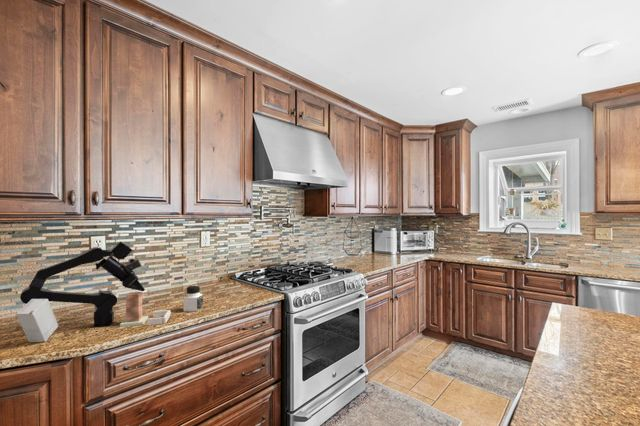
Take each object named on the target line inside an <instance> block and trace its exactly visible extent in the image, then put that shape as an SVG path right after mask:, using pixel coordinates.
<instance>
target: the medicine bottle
mask: <svg viewBox="0 0 640 426" xmlns="http://www.w3.org/2000/svg"><path fill="white" fill-rule="evenodd" d="M200 290H201V289H200V286H199V285H196V284H195V285H193V284H192V285H189V286H187V287H186V296H184V297H183V312H199V311H200V310H201V309H203V308H204V294H203V293H200V292H201V291H200Z"/></svg>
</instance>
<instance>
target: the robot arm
mask: <svg viewBox="0 0 640 426" xmlns="http://www.w3.org/2000/svg"><path fill="white" fill-rule="evenodd" d="M133 251H134V250H133V249H132V248H131V247H130V246H128V245H126V244H125V243H123V242H122V241H119V242H118V243H117V244H116V245H115V246H114V247H113V248H112V249H102V248H100V247H96V246H94V247H91V248H88V249H87V250H85V251H84V252H82V253H80V254H78V255H76V256H75V257H72V258H68V259H66V260H63V261H61V262H57V263H55V264H53V265H52V264H51V265H50V266H47V267H44V268H43V267H42V268H39V269H38V270H37V271H36V273H35V276H34V277H33V279H32V280H31V281H30V282H29V283H30V284H29V285H28V286H27V287H25V288H23V289H22V291H21V292H20V296H19V297H20V301H21V302H22V303H24V304H25V305H26V304H27V303H28V302H29V301H30V300H31V299H48V301H49V302H53V303H54V302H55V303H69V304H70V303H71V304H73V303H74V304H75V303H76V304H91V305H93V306H94V308H95V311H93V325H92V326H91V328H100V327H108V326H111V325H112V324H113V323H114V322H115V312H114V311H113V310H114V309H113V307H115V306H116V305H117V303H118V297H117V296H116V294H114V293H113V292H111V290H101V289H99V290H98V292H97V293H83V292H72V291H71V292H70V291H55V290H50V289H47V288H44V285H45V283H46V281H47V279H48V278H50V277H53V276H55V275H58V274H60V273H62V272H66V271H68V270H70V269H74V268H76V267H79V266H81V265H87V264H92V263H95V270H99V269H100V268H103V270H105V271H106V272H108V273H109V274H110V275H111V276H112V277H114V278H116V279H117V280H119V282H121V285H122V287H124V288H125V289H131V290H135V291H138V292H144V291H145V290H146V289H145V287H143V284H142V283H140V281H139V276H138V275H137V274H136V273H135V272H134V270H135V269H137V268H140V267H142V263H141V261H140V260H139V259H138V258H137V259H134V258H131V259H129V261H128V263H127V264H123V263H120V262H119V261H121V260H123V261H124V260H125V259H126V258H127V257H128V256H129V255H130V254H131V253H132V252H133Z"/></svg>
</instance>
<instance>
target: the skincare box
mask: <svg viewBox="0 0 640 426" xmlns="http://www.w3.org/2000/svg"><path fill="white" fill-rule="evenodd" d="M15 316H16V317H17V319H18V321H19V323H20V326H21V329H22V330H23V332H24V334H25V336H26V338H27V341H28V343H43V342H42V341H45V342H47V340H48V339H49V338H50V337H51V336H52V334H53V333H54V332H55V331H56V330H57V329H58V328H59V324H58V321H57V319H56V316H55V314H54V311H53V309H52V305H51V303H50V301H48V299H31V300H30V301H29V302H28V303H27V304H25V305H24V306H22V308H21V309H19V311H17V312H16V314H15Z"/></svg>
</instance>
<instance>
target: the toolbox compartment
mask: <svg viewBox="0 0 640 426" xmlns="http://www.w3.org/2000/svg"><path fill="white" fill-rule="evenodd" d="M170 316H171V309H165V310H164V309H163V310H153V312H152V317H153V318H151V317H150V318H148V319H147V320H146V324H147V326H152V325H159V324H160V325H162V324H166V323H167V322H168V320H169V318H170Z"/></svg>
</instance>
